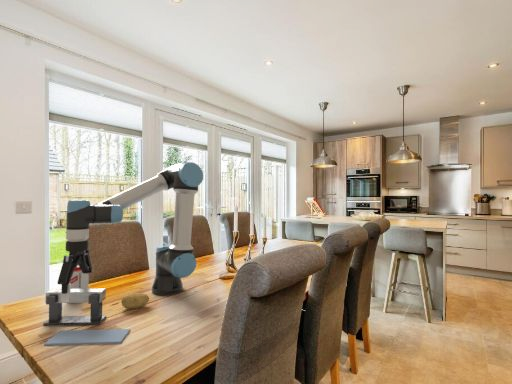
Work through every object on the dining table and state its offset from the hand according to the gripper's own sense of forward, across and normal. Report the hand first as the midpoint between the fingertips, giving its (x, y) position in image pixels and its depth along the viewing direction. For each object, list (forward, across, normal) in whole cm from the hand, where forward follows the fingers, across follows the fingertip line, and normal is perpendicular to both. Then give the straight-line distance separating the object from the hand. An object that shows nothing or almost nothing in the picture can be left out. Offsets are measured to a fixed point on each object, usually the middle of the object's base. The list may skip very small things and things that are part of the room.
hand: (75, 295), depth 112 cm
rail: (+2, 0, 0) cm, 2 cm away
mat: (+10, +13, +11) cm, 20 cm away
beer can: (+10, -22, -11) cm, 27 cm away
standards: (+10, 0, 0) cm, 10 cm away
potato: (+10, -13, +18) cm, 25 cm away
